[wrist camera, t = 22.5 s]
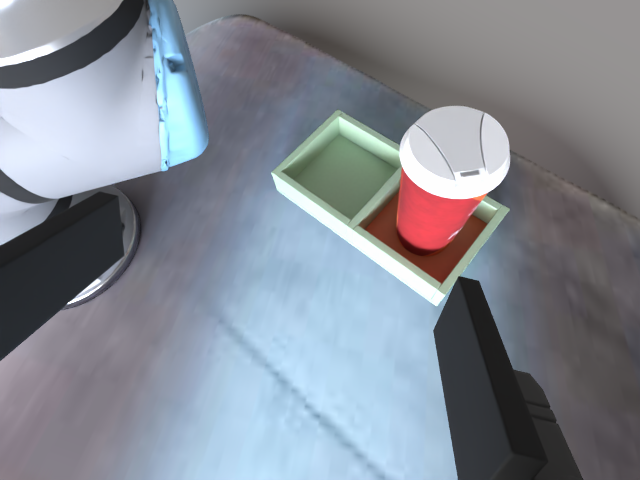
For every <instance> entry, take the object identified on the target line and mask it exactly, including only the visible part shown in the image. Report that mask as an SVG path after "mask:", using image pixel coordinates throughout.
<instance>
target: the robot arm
mask: <svg viewBox="0 0 640 480" xmlns="http://www.w3.org/2000/svg"><path fill="white" fill-rule="evenodd" d="M208 141H209V133H208V126H207V121H206V116H205V111H204V106H203V102H202V98H201V94H200V89H199V85H198V82H197V78H196V74H195V70H194V66H193V62H192V59H191V55H190V51H189V48H188V44H187V41H186V37H185V34H184V30H183V27H182V24H181V20H180V17H179V14H178V11H177V8H176V6H175V4H174V2H173V0H0V361H1V360H2V359H3V358H4V357H6V356H7V355H8V354H9V353H10V352H11V351H13V350H14V349H15V348H16V347H17V346H18V345H20V344H21V343H22V342H23V341H24V340H26V339H27V338H28V337H29V336H30V335H31V334H33V333H34V332H35V331H36V330H37V329H39V328H40V327H41V326H42V325H43V324H44V323H46V322H47V321H48V320H49V319H50V318H52V317H53V316H54V315H55V314H56V313H57V312H59V311H60V310H63V309H68V308H72V307H75V306H78V305H81V304H83V303H85V302H88V301H89V300H91V299H93V298H95V297H97V296H98V295H100V294H101V293H103V292H104V291H105V290H107V289H108V288H109V287H110V286H111V285H112V284H113V283H114V282H115V281H117V280H118V278H119V277H120V276H121V275H122V274H123V273H124V271H125V270H126V268H127V267H128V265H129V264H130V262H131V260H132V259H133V257H134V255H135V252H136V250H137V247H138V243H139V239H140V231H141V227H140V219H139V215H138V212H137V210H136V208H135V206H134V204H133V203H132V202H131V201H130V200H129V199H128V198H127V197H126V196H125V195H124V194H123V193H122V192H121V191H120V190H119V189H117V188H116V187H114V186H112V185H111V184H114V183H118V182H122V181H125V180H129V179H133V178H137V177H140V176H144V175H148V174H151V173H155V172H159V171H166V170H168V169H169V167H171V166H174V165H177V164H180V163H182V162H185V161H188V160H191V159H194V158H196V157H198V156H199V155H200V154H202V153H203V151H204V150H205V148H206V147H207V145H208ZM433 332H434V338H435V344H436V350H437V356H438V362H439V368H440V374H441V380H442V386H443V392H444V398H445V404H446V410H447V416H448V422H449V428H450V434H451V440H452V446H453V452H454V458H455V464H456V470H457V476H458V480H583V478H582V476H581V474H580V472H579V469H578V467H577V465H576V463H575V460H574V458H573V456H572V454H571V452H570V449H569V447H568V445H567V443H566V440H565V438H564V436H563V434H562V431H561V429H560V427H559V425H558V424H556V421H557V420H556V418H555V416H554V414H553V411H552V410H550V405H549V402H548V400H547V398H546V396H545V394H544V391H543V389H542V388H541V387H540V386H539V385H538V383H537V382H536V381H535V380H534V379H533V377H532V376H531V375H530V374H529V373H525V372H521V371H517V370H513V368H512V365H511V363H510V360H509V358H508V355H507V352H506V350H505V347H504V345H503V342H502V339H501V337H500V334H499V332H498V329H497V326H496V324H495V321H494V319H493V316H492V314H491V311H490V308H489V306H488V303H487V301H486V298H485V295H484V293H483V290H482V288H481V285H480V282H479V281H477V280H473V279H469V278H464V277H460V276H458V278H457V280H456V282H455V284H454V286H453V289H452V291H451V293H450V295H449V297H448V300H447V302H446V304H445V306H444V308H443V310H442V313H441V315H440V317H439V319H438V321H437V324H436V326H435V328H434V330H433Z"/></svg>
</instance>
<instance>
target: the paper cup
mask: <svg viewBox="0 0 640 480" xmlns="http://www.w3.org/2000/svg"><path fill="white" fill-rule="evenodd" d="M483 114H484V115H483ZM399 155H400V161H401V164H402V171H401V180H400V190H399V200H398V210H397V223H396V233H397V237H398V240H399V242H400V243H401V245H402V246H403V247H404V248H405V249H406V250H408V251H409V252H411V253H413V254H415V255H419V256H433V255H436V254H438V253H440V252H442V251H443V250H444V249H445V248H446V247H447V246H448V245H449V244H450V243H451V241H452V240H453V239H454V238H455V236H456V235H457V234H458V232H459V231H460V230H461V228H462V227H463V226H464V224H465V223H466V222H467V220H468V219H469V218H470V216H471V215H472V213H473V212H474V211H475V209H476V208H477V207H478V205H479V204H480V202H481V201H482V200H483V198H484V197H485V196H486V194H487V193H488V192H489V191H491V190H493V189H494V188H495V187H496V186H498V185H499V184H500V183H501V181H502V180H503V179H504V177H505V176H506V174H507V172H508V169H509V165H510V154H509V140H508V137H507V135H506V133H505V131H504V129H503V127H502V126H501V125H500V124H499V122H497V121H496V120H495V119H494V118H493V117H491V116H490V115H489V114H487V113H484V112H482V111H479V110H476V109H473V108H470V107H465V106H445V107H441V108H437V109H434V110H431V111H429V112H427V113H426V114H424V115H423V116H422V117H421V118H419V119H418V120H417V121H416V122H415V123H414V124H413V125H412V126H411V127H410V128H409V129H408V130H407V131H406V133H405V134H404V136H403V138H402V140H401V144H400V150H399Z"/></svg>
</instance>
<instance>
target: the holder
mask: <svg viewBox="0 0 640 480" xmlns="http://www.w3.org/2000/svg"><path fill="white" fill-rule="evenodd" d="M399 150H400V145H398V144H397V143H395V142H393V141H392V140H390V139H388V138H386V137H385V136H383V135H381V134H380V133H378V132H376V131H374V130H373V129H371V128H369V127H367V126H366V125H364V124H362V123H361V122H359V121H357V120H355V119H354V118H352V117H350V116H349V115H347V114H345V113H343V112H342V111H340V110H338V109H337V110H336V111H335V112H334V113H333V114H332V115H331V116H330V117H329V118H328V119H327V120H326V121H325V122H324V123H323V124H322V125H321V126H319V127H318V128H317V129H316V130H315V131H314V132H313V133H312V134H311V135H310V136H309V137H308V138H307V139H306V140H305V141H304V142H303V143H302V144H301V145H300V146H298V147H297V148H296V149H295V150H294V151H293V152H292V153H291V154H290V155H289V156H288V157H287V158H286V159H285V160H284V161H283V162H282V163H281V164H280V165H279V166H277V167H276V168H275V169H274V170H273V171H272V172H271V173H272V176H273V179H274V182H275V185H276V187H277V190H278V191H279V192H280V193H282V194H283V195H284V196H286V197H287V198H288V199H290V200H291V201H293V202H294V203H295V204H297V205H298V206H299V207H301V208H302V209H304V210H305V211H306V212H308V213H309V214H310V215H312V216H313V217H315V218H316V219H317V220H319V221H320V222H321V223H323V224H324V225H325V226H327V227H328V228H330V229H331V230H332V231H334V232H335V233H336V234H338V235H339V236H341V237H342V238H343V239H345V240H346V241H347V242H349V243H350V244H352V245H353V246H354V247H356V248H357V249H358V250H360V251H361V252H363V253H364V254H365V255H367V256H368V257H369V258H371V259H372V260H374V261H375V262H376V263H378V264H379V265H380V266H382V267H383V268H385V269H386V270H387V271H389V272H390V273H391V274H393V275H394V276H396V277H397V278H398V279H400V280H401V281H402V282H404V283H405V284H406V285H408V286H409V287H411V288H412V289H413V290H415V291H416V292H417V293H419V294H420V295H422V296H423V297H424V298H426V299H427V300H428V301H430V302H431V303H433V304H434V305H435V306H438V304H439V303H440V302H441V300H442V299H443V298H444V297H445V295H446V294H447V293H448V291H449V290H450V289H451V287H452V286H453V285H454V283H455V282H456V280H457V278H458V276H460V275H461V274H462V273H463V271H464V270H465V269H466V267H467V266H468V265H469V263H470V262H471V261H472V259H473V258H474V257H475V255H476V254H477V253H478V251H479V250H480V249H481V247H482V246H483V245H484V243H485V242H486V241H487V239H488V238H489V237H490V235H491V234H492V233H493V231H494V230H495V229H496V227H497V226H498V225H499V223H500V222H501V221H502V219H503V218H504V217H505V215H506V214H507V212H508V211H509V210H510V209H509V208H507V207H505V206H504V205H501V204H500V203H498V202H496V201H495V200H493V199H491V198H490V197H488V196H485V197H484V198H483V200H482V201H481V202H480V204H479V205H478V207H477V208H476V209H475V211H474V212H473V213H472V215H471V216H470V218H469V219H468V220H467V222H466V223H465V224H464V226H463V227H462V228H461V230H460V231H459V232H458V234H457V235H456V236H455V238H454V239H453V240H452V241H451V243H450V244H449V245H448V246H447V247H446V248H445V249H444V250H443V251H442V252H440V253H438V254H436V255H433V256H419V255H415V254H413V253H411V252H409V251H408V250H406V249H405V248H404V247H403V246H402V245H401V243H400V242H399V240H398V237H397V233H396V223H397V210H398V200H399V190H400V180H401V171H402V164H401V161H400V155H399Z"/></svg>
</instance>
